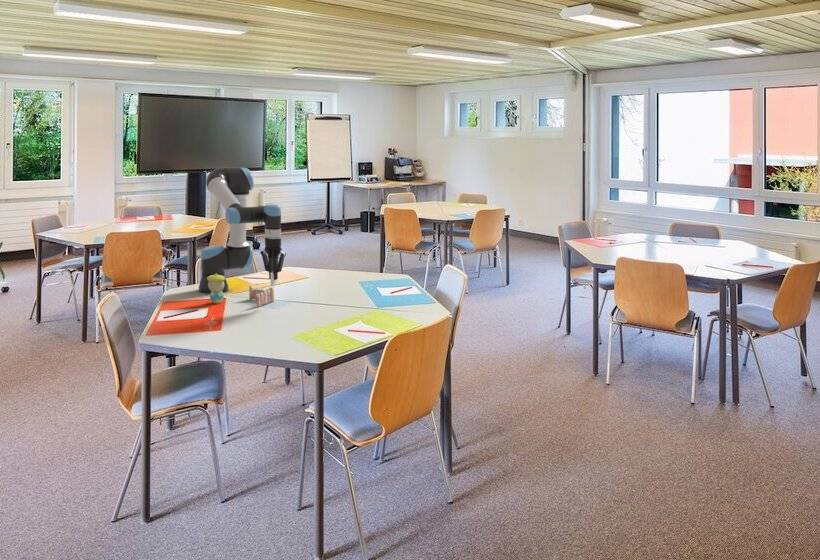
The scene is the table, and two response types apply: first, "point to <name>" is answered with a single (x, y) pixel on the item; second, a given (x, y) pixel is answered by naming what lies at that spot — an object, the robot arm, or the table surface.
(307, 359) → the table surface
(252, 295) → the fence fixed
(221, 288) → the toy
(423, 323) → the table surface
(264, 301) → the fence wing
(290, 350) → the table surface
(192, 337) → the table surface
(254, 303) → the card
